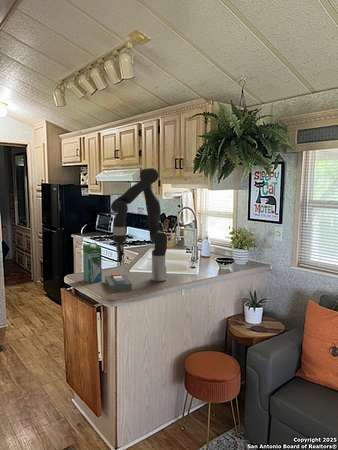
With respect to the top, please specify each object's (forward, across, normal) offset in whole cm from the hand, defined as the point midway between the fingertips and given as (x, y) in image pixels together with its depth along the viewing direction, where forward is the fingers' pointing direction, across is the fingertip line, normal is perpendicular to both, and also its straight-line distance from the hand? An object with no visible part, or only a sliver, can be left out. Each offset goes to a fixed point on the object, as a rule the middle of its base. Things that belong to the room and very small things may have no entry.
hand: (120, 261), depth 201 cm
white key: (+14, +7, 0) cm, 16 cm away
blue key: (+14, 0, 0) cm, 14 cm away
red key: (+14, +14, 0) cm, 20 cm away
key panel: (+17, +7, 0) cm, 18 cm away
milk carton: (+17, +23, +14) cm, 32 cm away
